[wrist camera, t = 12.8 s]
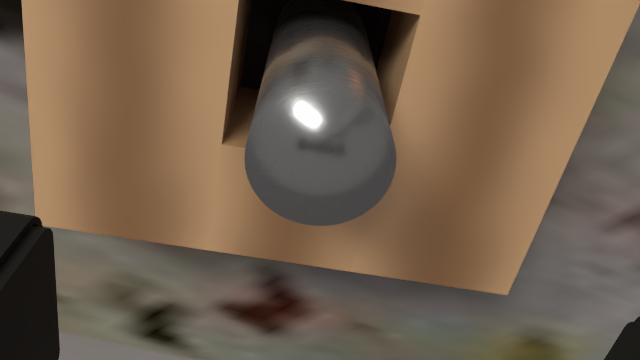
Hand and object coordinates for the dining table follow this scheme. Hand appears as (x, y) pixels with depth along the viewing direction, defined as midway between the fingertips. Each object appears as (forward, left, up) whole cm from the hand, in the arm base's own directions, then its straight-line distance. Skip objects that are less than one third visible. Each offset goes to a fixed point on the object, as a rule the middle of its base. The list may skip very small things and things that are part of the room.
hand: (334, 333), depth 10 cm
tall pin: (0, 0, -19) cm, 19 cm away
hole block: (0, 0, -19) cm, 18 cm away
